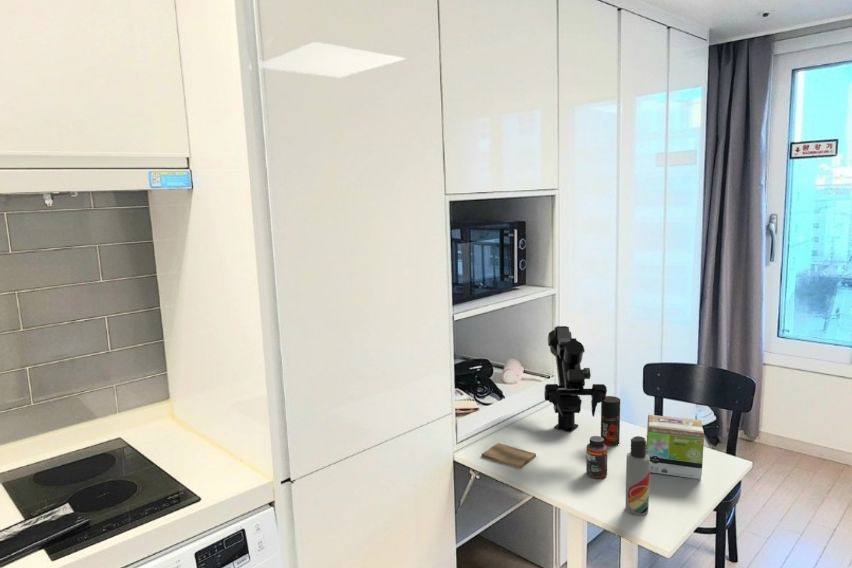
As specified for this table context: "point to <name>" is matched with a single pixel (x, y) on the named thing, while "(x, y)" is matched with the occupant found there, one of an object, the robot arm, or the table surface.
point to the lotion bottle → (637, 477)
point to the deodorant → (610, 420)
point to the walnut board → (508, 455)
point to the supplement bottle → (596, 458)
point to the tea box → (675, 446)
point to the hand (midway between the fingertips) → (578, 415)
